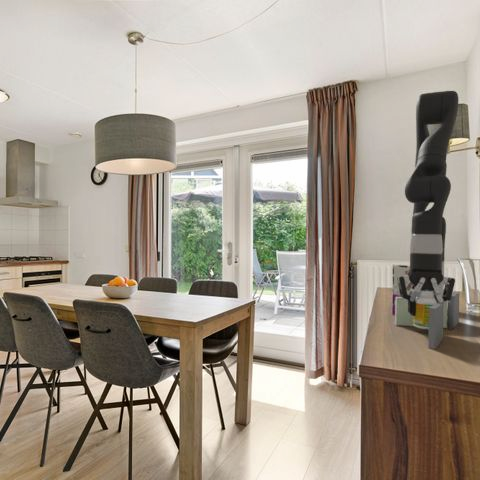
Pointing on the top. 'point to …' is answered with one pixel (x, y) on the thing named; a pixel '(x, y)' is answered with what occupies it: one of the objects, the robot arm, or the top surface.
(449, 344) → the top surface
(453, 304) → the door frame
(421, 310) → the supplement bottle
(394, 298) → the candy bar box
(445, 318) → the door
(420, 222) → the robot arm
